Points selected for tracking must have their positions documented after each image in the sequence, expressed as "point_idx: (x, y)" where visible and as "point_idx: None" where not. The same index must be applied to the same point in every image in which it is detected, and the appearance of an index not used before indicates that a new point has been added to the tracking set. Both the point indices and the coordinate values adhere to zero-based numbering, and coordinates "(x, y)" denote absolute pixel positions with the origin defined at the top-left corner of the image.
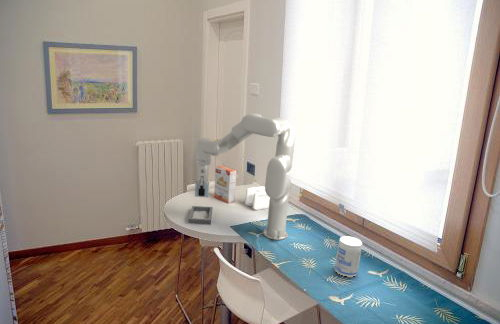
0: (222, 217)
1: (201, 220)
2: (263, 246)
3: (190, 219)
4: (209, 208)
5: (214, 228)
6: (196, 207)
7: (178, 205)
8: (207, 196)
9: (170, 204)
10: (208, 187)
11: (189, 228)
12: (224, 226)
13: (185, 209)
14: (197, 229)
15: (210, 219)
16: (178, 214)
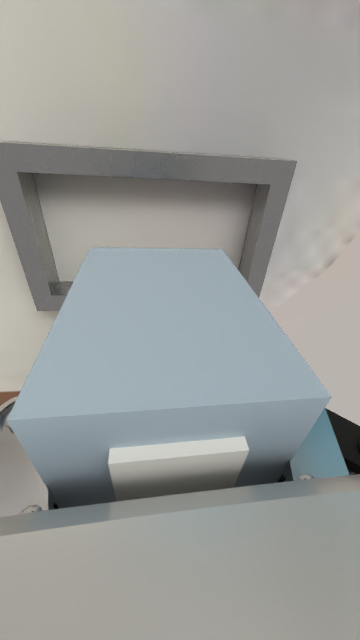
0: (133, 24)
1: (274, 232)
2: None
3: (258, 295)
4: (20, 175)
5: (347, 129)
6: (48, 280)
7: (5, 362)
8: (224, 257)
9: (10, 390)
10: (202, 326)
11: (306, 281)
12: (337, 19)
13: (51, 326)
14: (328, 242)
15: (281, 166)
16: None
